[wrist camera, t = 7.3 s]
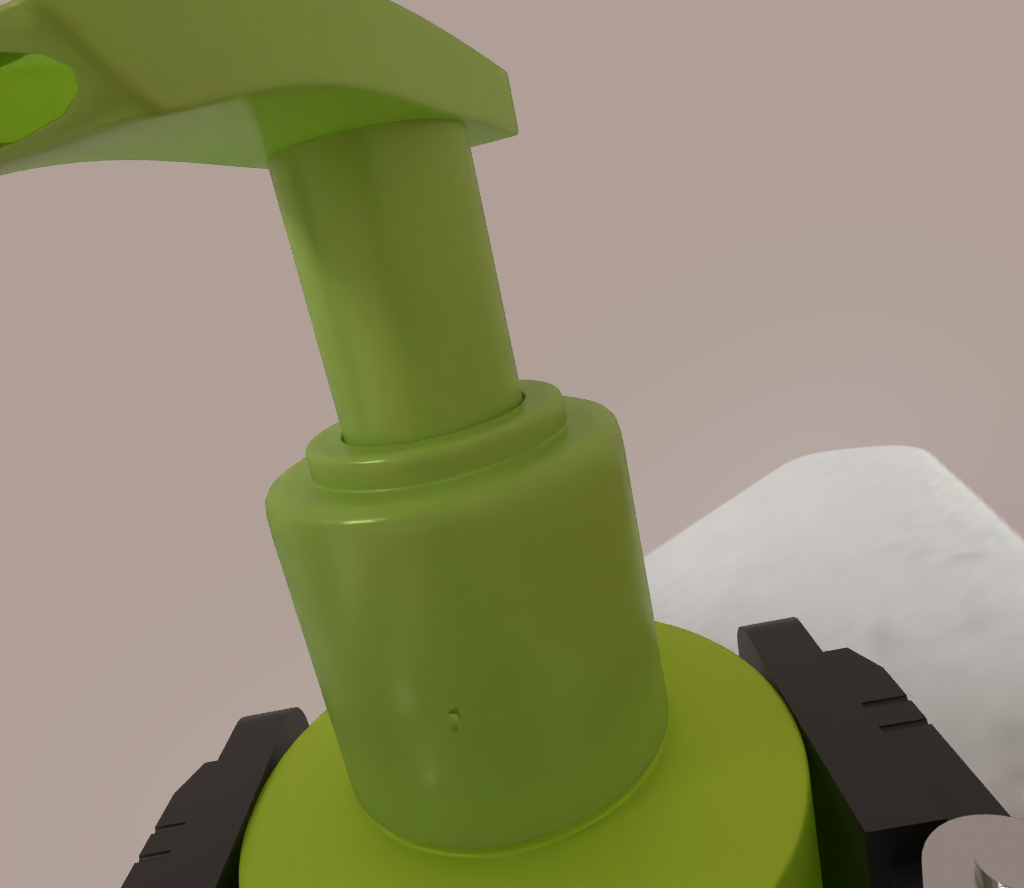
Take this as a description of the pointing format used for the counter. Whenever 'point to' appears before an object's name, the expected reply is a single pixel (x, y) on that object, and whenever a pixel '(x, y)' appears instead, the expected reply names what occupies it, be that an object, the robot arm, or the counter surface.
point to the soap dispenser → (431, 481)
